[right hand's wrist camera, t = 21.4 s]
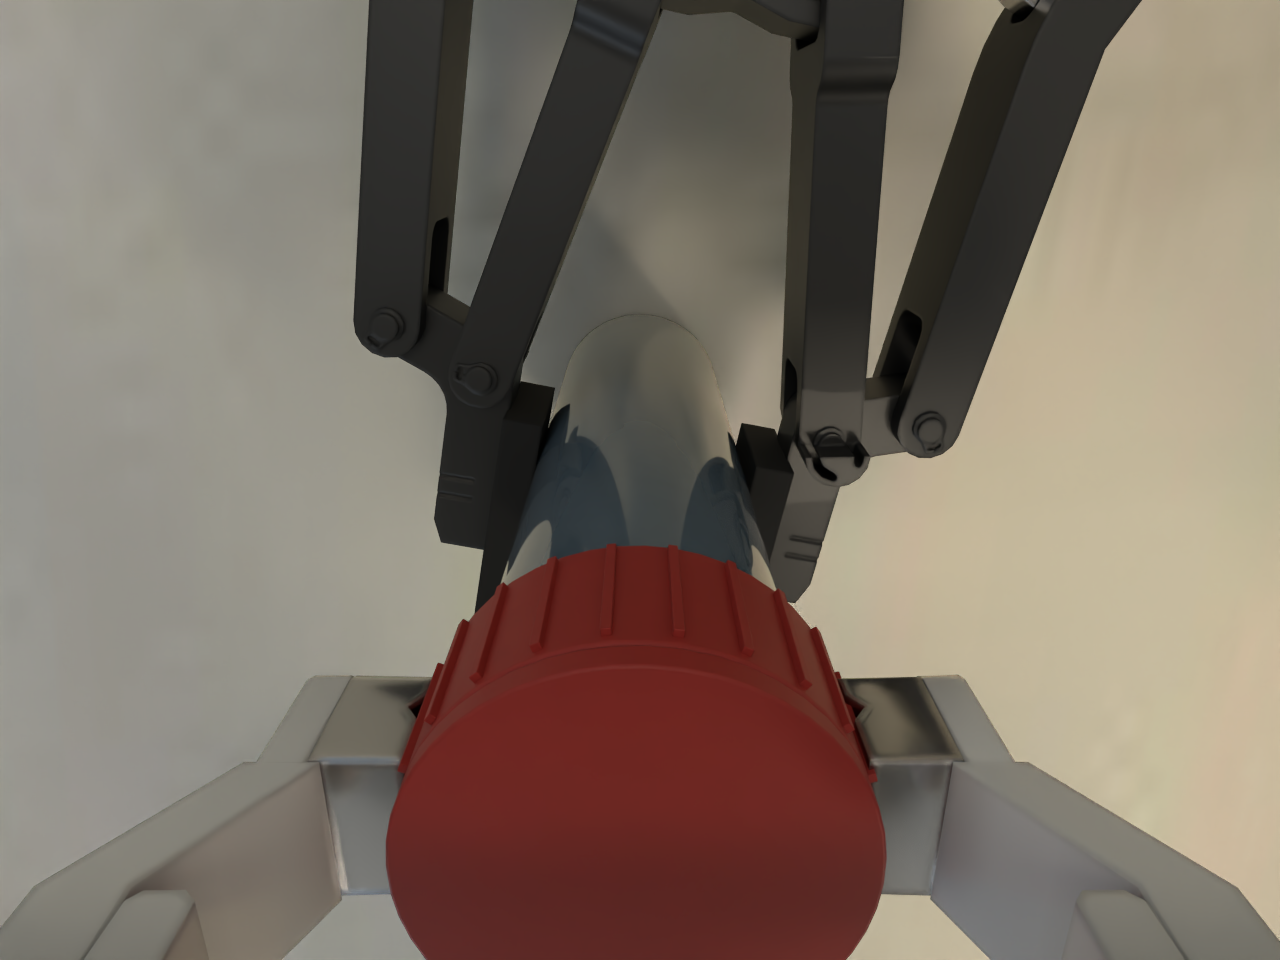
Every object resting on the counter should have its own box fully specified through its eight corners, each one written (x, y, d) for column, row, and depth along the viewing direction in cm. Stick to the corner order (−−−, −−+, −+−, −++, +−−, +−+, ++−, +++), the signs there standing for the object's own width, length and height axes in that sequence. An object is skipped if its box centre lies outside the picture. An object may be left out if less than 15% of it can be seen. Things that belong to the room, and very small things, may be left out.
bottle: (650, 486, 25) (662, 1021, 10) (534, 399, 24) (357, 848, 9) (746, 378, 24) (922, 804, 9) (628, 281, 23) (603, 576, 8)
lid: (524, 467, 10) (487, 572, 7) (920, 635, 10) (999, 777, 8) (377, 798, 11) (310, 966, 9) (726, 920, 12) (747, 1102, 10)
